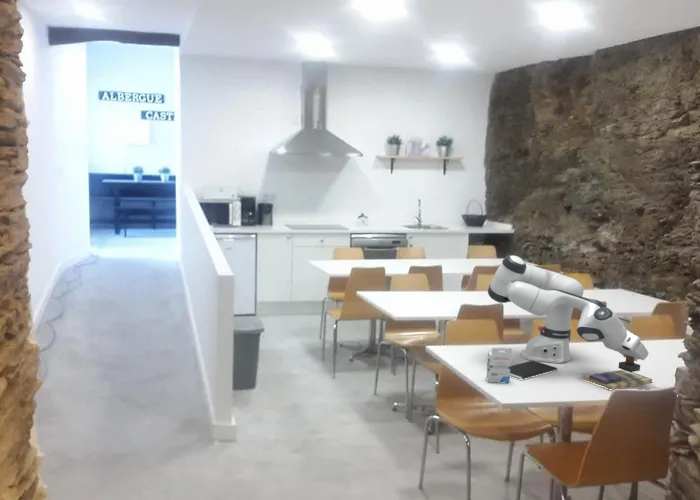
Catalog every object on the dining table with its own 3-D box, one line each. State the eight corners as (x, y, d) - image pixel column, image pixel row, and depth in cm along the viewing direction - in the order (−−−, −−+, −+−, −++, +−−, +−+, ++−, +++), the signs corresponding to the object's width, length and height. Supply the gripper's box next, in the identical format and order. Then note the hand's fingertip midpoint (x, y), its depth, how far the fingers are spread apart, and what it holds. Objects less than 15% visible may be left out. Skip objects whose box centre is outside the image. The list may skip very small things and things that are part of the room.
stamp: (630, 372, 291) (632, 351, 290) (618, 367, 296) (620, 347, 295) (639, 370, 294) (642, 350, 293) (627, 366, 299) (630, 346, 298)
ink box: (505, 379, 288) (508, 344, 286) (509, 383, 283) (512, 348, 281) (485, 378, 287) (488, 344, 285) (489, 382, 282) (492, 347, 280)
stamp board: (609, 390, 280) (610, 383, 280) (582, 379, 293) (583, 372, 292) (651, 382, 293) (652, 375, 293) (624, 372, 305) (624, 365, 305)
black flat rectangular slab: (558, 371, 304) (558, 367, 304) (521, 382, 287) (521, 377, 287) (532, 363, 314) (533, 359, 314) (495, 373, 297) (495, 369, 297)
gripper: (594, 336, 297) (607, 356, 303) (634, 350, 279) (647, 370, 286) (602, 325, 299) (615, 345, 305) (643, 338, 281) (656, 359, 287)
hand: (631, 358), depth 295 cm, fingers closed on stamp, 3 cm apart
